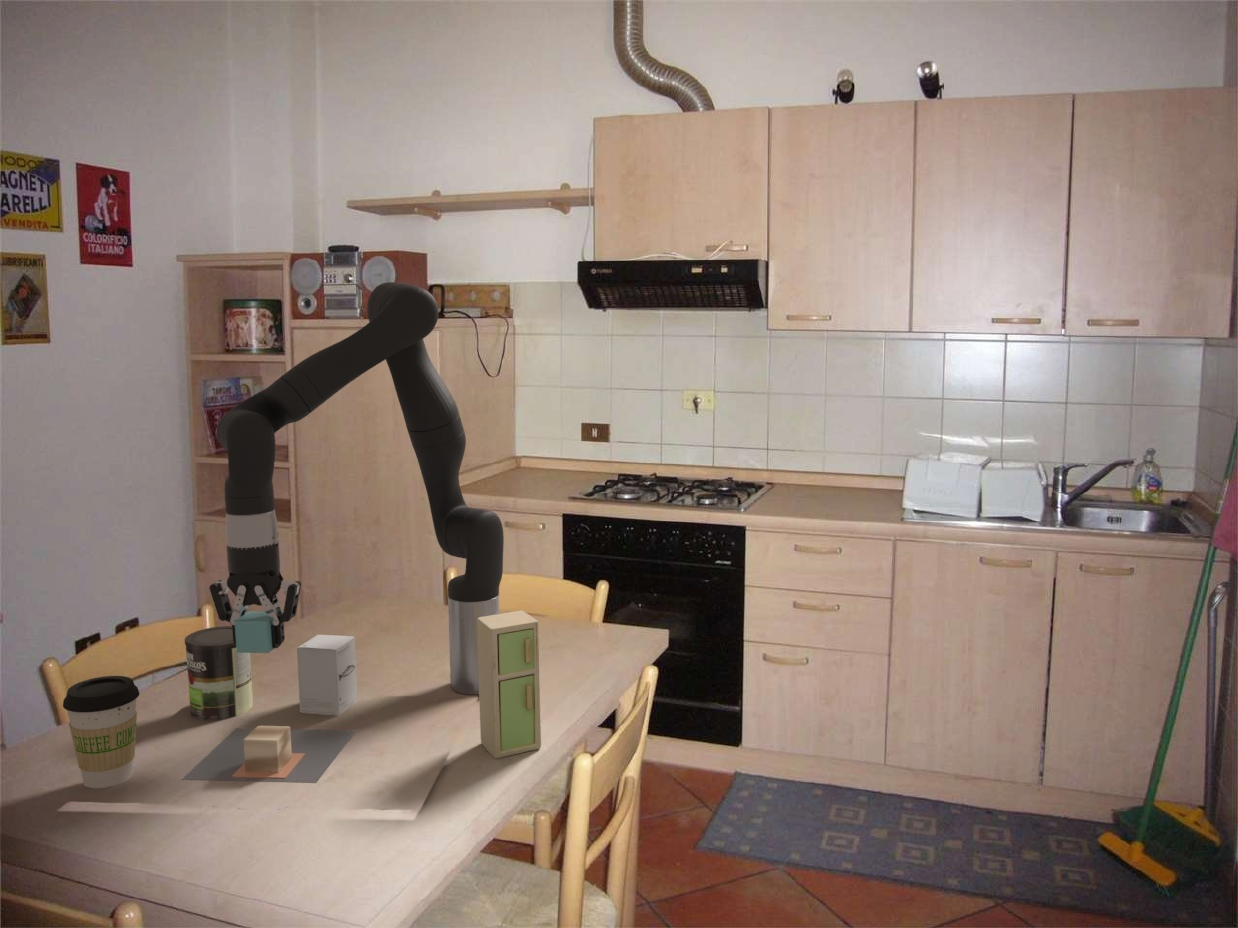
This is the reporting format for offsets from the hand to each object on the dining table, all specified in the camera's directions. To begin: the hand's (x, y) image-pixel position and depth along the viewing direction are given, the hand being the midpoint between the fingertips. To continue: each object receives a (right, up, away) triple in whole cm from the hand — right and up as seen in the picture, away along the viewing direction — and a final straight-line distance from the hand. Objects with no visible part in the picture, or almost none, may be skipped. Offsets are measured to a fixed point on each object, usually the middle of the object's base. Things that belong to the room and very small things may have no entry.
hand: (259, 645), depth 154 cm
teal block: (0, 0, 0) cm, 0 cm away
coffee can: (-12, -15, +16) cm, 25 cm away
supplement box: (+6, -15, +17) cm, 23 cm away
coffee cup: (-19, -19, -9) cm, 28 cm away
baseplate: (+3, -17, -2) cm, 18 cm away
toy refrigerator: (+39, -17, +2) cm, 42 cm away
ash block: (+4, -17, -6) cm, 18 cm away
